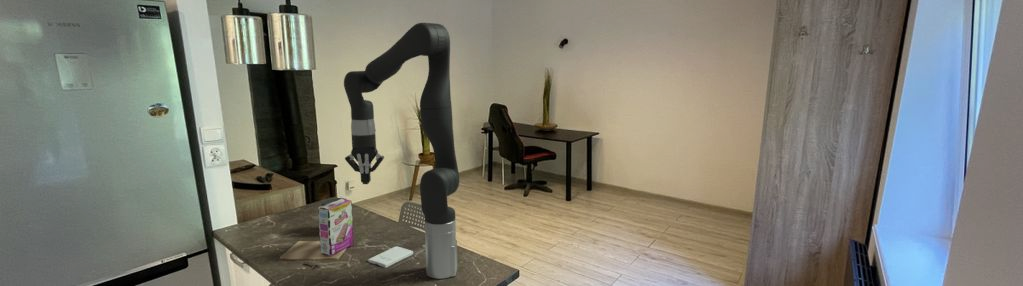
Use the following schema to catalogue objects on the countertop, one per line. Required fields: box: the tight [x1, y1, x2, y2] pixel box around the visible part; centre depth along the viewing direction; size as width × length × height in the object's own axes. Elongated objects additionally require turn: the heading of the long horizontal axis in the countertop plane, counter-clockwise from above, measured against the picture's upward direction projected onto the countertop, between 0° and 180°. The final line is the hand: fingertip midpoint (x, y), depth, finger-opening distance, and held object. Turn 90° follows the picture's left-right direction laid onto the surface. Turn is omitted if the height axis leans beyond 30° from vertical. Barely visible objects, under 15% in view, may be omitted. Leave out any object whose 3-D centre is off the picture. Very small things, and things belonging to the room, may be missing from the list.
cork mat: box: [279, 240, 348, 261], centre depth 162 cm, size 19×14×1 cm
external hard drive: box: [367, 245, 414, 268], centre depth 157 cm, size 2×8×12 cm
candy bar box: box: [317, 198, 355, 256], centre depth 160 cm, size 11×5×16 cm, turn 157°
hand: (366, 183), depth 158 cm, fingers closed
